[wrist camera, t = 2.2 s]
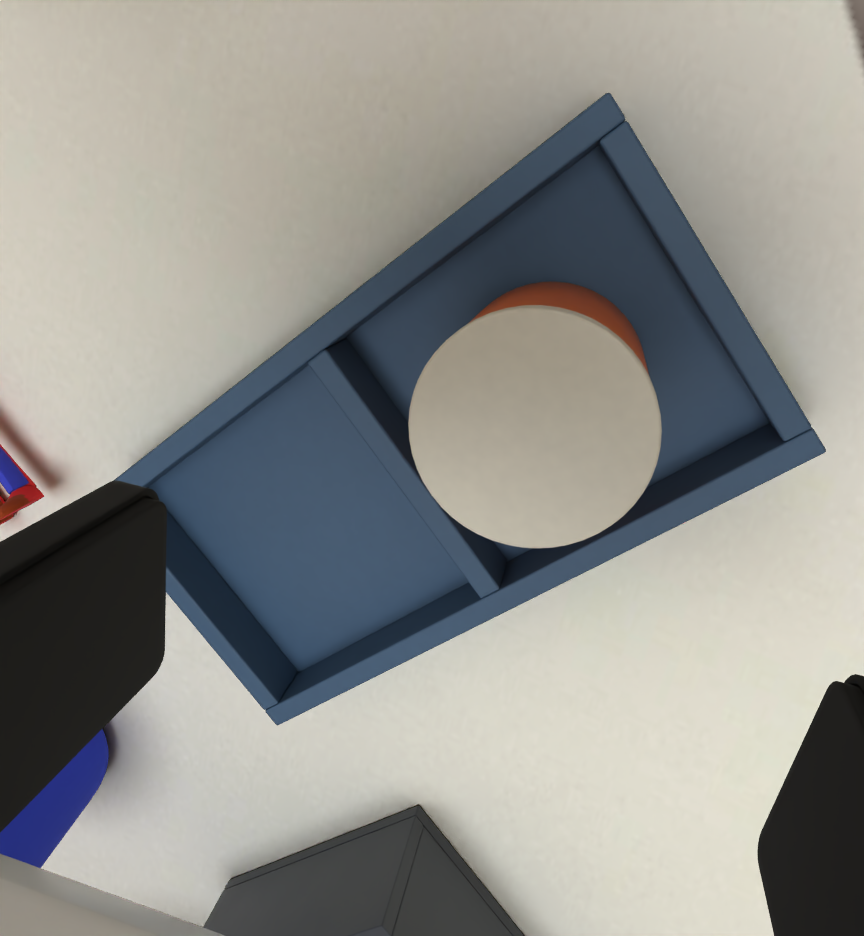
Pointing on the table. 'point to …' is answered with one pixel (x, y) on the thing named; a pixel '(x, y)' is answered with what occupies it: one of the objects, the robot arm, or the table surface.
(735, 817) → the table surface
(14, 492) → the character figure
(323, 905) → the grey square open box
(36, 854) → the mug
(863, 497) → the table surface
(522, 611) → the table surface
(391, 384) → the blue divided tray
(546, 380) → the food tub
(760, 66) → the table surface
